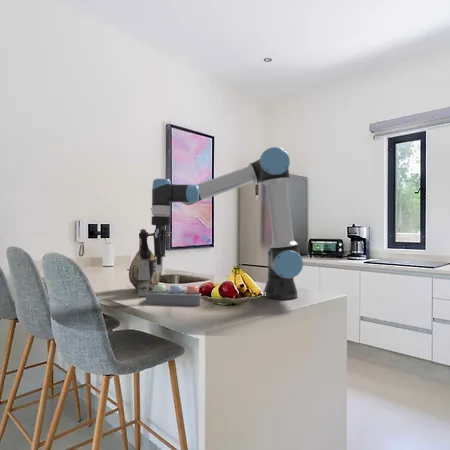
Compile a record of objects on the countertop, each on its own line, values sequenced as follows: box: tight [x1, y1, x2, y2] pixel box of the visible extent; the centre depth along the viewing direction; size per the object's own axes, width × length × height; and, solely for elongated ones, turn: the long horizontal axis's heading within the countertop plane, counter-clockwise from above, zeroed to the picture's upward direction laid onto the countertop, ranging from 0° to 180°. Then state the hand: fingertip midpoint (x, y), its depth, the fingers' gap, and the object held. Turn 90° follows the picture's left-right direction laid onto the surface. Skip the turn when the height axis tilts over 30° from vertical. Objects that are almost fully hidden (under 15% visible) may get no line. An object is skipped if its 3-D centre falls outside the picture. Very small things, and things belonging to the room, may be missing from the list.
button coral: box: [186, 285, 200, 294], centre depth 146 cm, size 5×5×4 cm
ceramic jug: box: [128, 228, 162, 292], centre depth 172 cm, size 17×15×30 cm
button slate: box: [170, 284, 183, 294], centre depth 147 cm, size 5×5×4 cm
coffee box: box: [137, 259, 159, 297], centre depth 162 cm, size 9×6×16 cm
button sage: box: [154, 284, 167, 293], centre depth 148 cm, size 5×5×4 cm
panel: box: [145, 288, 204, 307], centre depth 147 cm, size 22×12×4 cm, turn 84°
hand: (159, 272), depth 148 cm, fingers closed
